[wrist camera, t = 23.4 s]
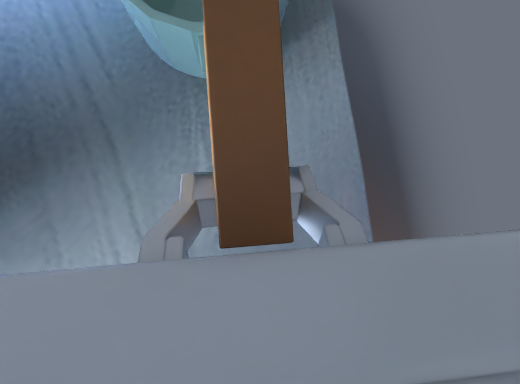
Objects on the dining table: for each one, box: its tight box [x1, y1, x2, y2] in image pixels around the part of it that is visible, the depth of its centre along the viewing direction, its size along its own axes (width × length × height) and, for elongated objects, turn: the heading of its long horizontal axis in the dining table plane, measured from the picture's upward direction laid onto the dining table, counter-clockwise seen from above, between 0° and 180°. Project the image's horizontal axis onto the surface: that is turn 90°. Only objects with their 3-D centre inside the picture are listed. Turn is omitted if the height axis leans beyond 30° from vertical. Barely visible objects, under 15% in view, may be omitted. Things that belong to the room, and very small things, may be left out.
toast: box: [202, 0, 294, 249], centre depth 14 cm, size 8×2×8 cm, turn 4°
